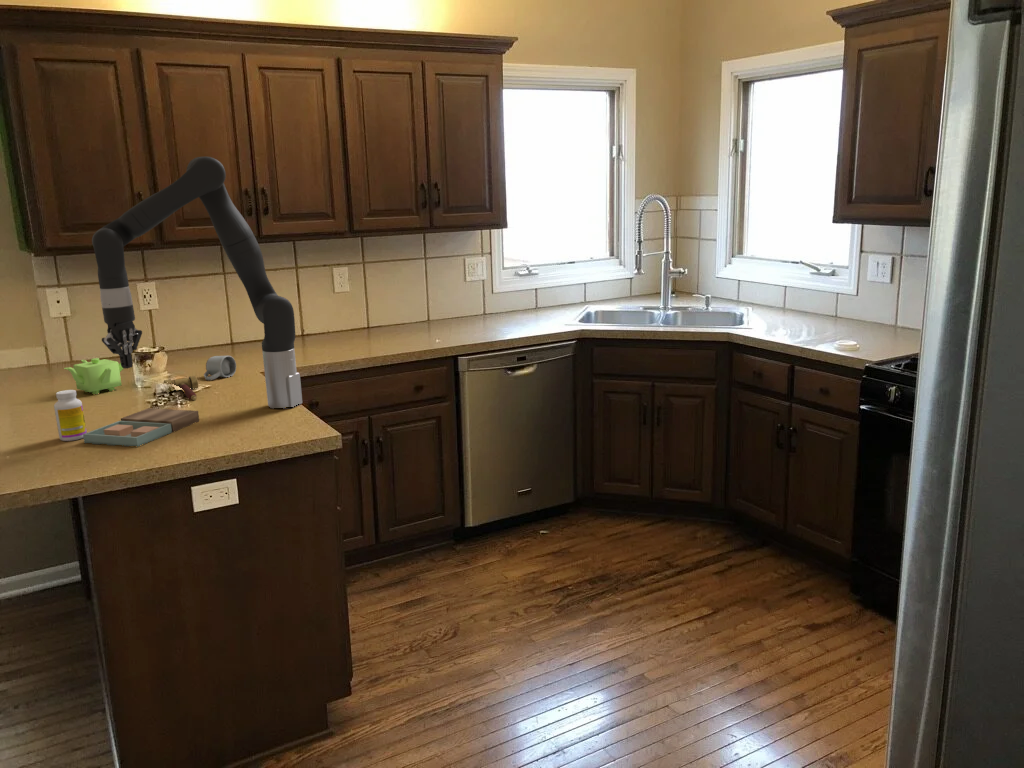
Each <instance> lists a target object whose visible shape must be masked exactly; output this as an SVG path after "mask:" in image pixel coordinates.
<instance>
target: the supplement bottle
mask: <svg viewBox="0 0 1024 768" xmlns="http://www.w3.org/2000/svg"><path fill="white" fill-rule="evenodd" d="M55 397H56V399H57V401H56V402H55V403H54V405H53V409H54V416H55V420H56V426H57V431H58V432H57V433H58V437H59V440H60V441H63V442H73V441H78V440H82V439H84V438H83V434H85V433H88V432H87V431H88V430H87V427H86V420H85V413H84V408H83V402H82V400H80V399H79V398H77V390H75V389H66V390H65V389H64V390H60V391H58V392H55Z"/></svg>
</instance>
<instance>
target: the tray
mask: <svg viewBox="0 0 1024 768" xmlns="http://www.w3.org/2000/svg"><path fill="white" fill-rule="evenodd" d="M115 425H133V430H135V429H138V428H140V427H143V426H150V427H159V428H157V429H155V430H152V431H150V432H147V433H145V434H142V435H140V436H137V437H131V434H129V435H126V436H113V435H105V434H104V429H107V428H110V427H112V426H115ZM167 434H168V435H170V434H173V432H172V429H171V424H166V423H150V422H133V421H121V420H118V421H115V422H112V423H110V424H107V425H104V426H101V427H99V428H96V429H93V430H91V431H88V432H87V433H85V434H83V438H82V439H83V443H84V444H86V443H92V444H91V445H100V444H107V445H106V446H115V445H122V446H121V447H129V446H137V447H136V448H139V447H141V446H140V445H142V444H144V445H146V444H149V443H151V442H154V441H156V440H158V439H160V438H163V437H165V436H167ZM155 439H156V440H155ZM150 441H151V442H150ZM148 442H149V443H148ZM145 443H146V444H145ZM123 445H124V446H123ZM138 446H139V447H138ZM142 446H143V445H142Z"/></svg>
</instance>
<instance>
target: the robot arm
mask: <svg viewBox="0 0 1024 768" xmlns="http://www.w3.org/2000/svg"><path fill="white" fill-rule="evenodd" d="M226 173H227V172H226V170H225V167H224V165H223V163H222V162H221V161H219V160H218V159H216V158H214V157H211V156H197V157H194V158H193V159H191V160H190V161H189V162H188V164H187V167H186V171H185V172H184V174H182V175H181V176H180V177H179V178H177V180H175V181H173V183H171V184H169V185H168V186H166V187H165V188H163V189H160V190H159V191H157V192H155V193H154V194H152V195H150V196H148V197H146V198H144V199H143V200H141V201H139V202H138V203H137V204H135V205H133V206H132V207H130V209H128V210H126V211H125V212H124V213H123V214H121V215H120V216H119V217H118V218H115V219H114V220H112V221H111V222H109V223H108V224H106V225H104V226H102V227H101V228H99V229H97V230H96V231H95V232H94V233H93V235H92V238H91V244H92V245H91V246H93V250H94V254H95V258H96V259H95V261H96V265H97V278H98V279H97V280H98V283H99V284H98V285H99V292H100V293H99V295H100V303H101V309H102V316H103V321H104V324H106V325H107V330H106V331H107V332H106V333H107V335H105V337H101V342H102V343H103V344H104V345H105V347H107V349H108V350H109V351H110V352H111V353H112V354H113V355H118V357H119V360H120V363H121V366H122V368H124V369H130V368H132V367H133V363H134V362H133V357H132V354H133V351H136V350H137V349H138V346H139V343H140V340H141V337H142V334H143V331H142V329H137V328H136V327H135V323H134V321H135V320H136V315H135V309H134V303H133V298H132V297H133V296H132V293H131V289H130V284H129V278H128V273H127V268H126V263H125V261H126V260H125V251H124V250H125V249H124V247H125V246H126V245H128V244H129V243H131V242H133V240H135V239H136V238H139V237H142V236H143V235H145V234H146V233H148V232H149V231H151V230H153V229H154V228H155V227H157V226H158V225H160V224H161V223H162V222H163V221H165V220H166V219H168V218H169V217H170V216H171V215H173V214H175V212H177V211H178V210H180V209H181V208H183V207H184V206H186V205H188V204H189V203H190V202H193V201H194V200H196V199H198V198H199V199H200V201H201V203H202V205H203V206H204V207H205V209H206V211H207V213H208V216H209V218H210V221H211V223H212V226H213V228H214V230H215V233H216V235H217V238H218V239H219V242H220V244H221V246H222V249H224V252H225V254H226V256H227V258H228V260H229V261H230V263H231V265H232V267H233V269H234V270H235V272H236V274H237V276H238V277H239V280H240V281H241V283H242V285H243V287H244V288H245V291H246V294H247V295H248V298H249V301H250V304H251V306H252V310H253V312H254V314H255V317H256V318H257V319H258V321H259V322H261V324H263V329H264V330H263V332H264V336H263V340H262V341H261V350H262V351H261V352H262V359H263V369H264V371H263V372H264V379H265V387H266V389H265V391H266V396H267V397H266V398H267V407H268V406H269V407H270V408H269V407H268V408H269V409H274V408H283V409H286V408H285V407H293V408H295V407H297V406H299V405H301V404H303V394H302V393H303V392H302V384H301V375H300V372H298V371H297V362H296V361H297V360H296V351H295V340H296V323H295V322H296V320H295V311H294V307H293V305H292V303H291V301H289V300H288V299H287V298H286V297H283V296H280V295H278V294H277V292H276V290H275V289H274V287H273V284H271V281H270V279H269V277H268V275H267V272H266V268H265V261H264V257H263V253H262V250H261V247H260V245H259V243H258V240H257V238H256V236H255V234H254V233H253V231H252V229H251V227H250V226H249V224H248V222H247V220H246V219H245V218H244V217H243V215H242V214H241V212H240V211H239V210H238V209H237V207H236V205H235V204H234V203H233V200H232V199H231V196H230V195H229V193H228V190H227V187H226V185H225V182H226V181H225V180H226V179H227V178H226V176H227V174H226ZM298 404H299V405H298ZM296 405H297V406H296ZM294 406H295V407H294Z"/></svg>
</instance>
